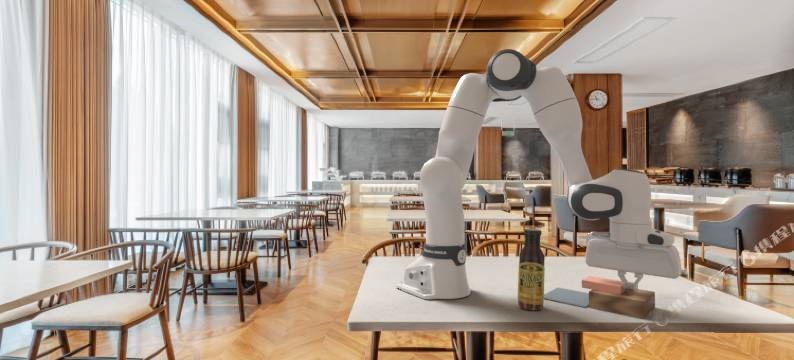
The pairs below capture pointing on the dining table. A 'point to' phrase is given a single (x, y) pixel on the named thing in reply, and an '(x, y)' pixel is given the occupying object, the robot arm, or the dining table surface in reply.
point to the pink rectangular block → (603, 285)
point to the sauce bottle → (531, 272)
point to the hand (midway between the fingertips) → (630, 290)
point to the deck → (624, 302)
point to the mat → (568, 297)
